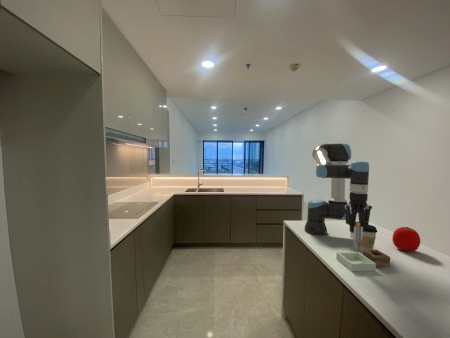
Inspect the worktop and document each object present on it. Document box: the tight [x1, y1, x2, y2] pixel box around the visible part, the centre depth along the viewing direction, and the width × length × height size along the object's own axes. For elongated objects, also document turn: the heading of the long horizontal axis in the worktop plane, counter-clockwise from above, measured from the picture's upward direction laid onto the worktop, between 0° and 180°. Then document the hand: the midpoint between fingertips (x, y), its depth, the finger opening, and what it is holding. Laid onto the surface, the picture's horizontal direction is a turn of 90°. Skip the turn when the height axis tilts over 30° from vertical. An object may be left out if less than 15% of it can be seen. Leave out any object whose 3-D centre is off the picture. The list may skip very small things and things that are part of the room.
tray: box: [335, 251, 377, 272], centre depth 101 cm, size 12×12×4 cm
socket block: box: [362, 249, 391, 268], centre depth 103 cm, size 8×8×5 cm
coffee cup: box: [359, 224, 378, 253], centre depth 115 cm, size 10×10×15 cm
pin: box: [352, 220, 361, 253], centre depth 100 cm, size 3×3×15 cm
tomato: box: [392, 226, 421, 253], centre depth 118 cm, size 13×11×14 cm
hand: (356, 238), depth 100 cm, fingers closed on pin, 3 cm apart
